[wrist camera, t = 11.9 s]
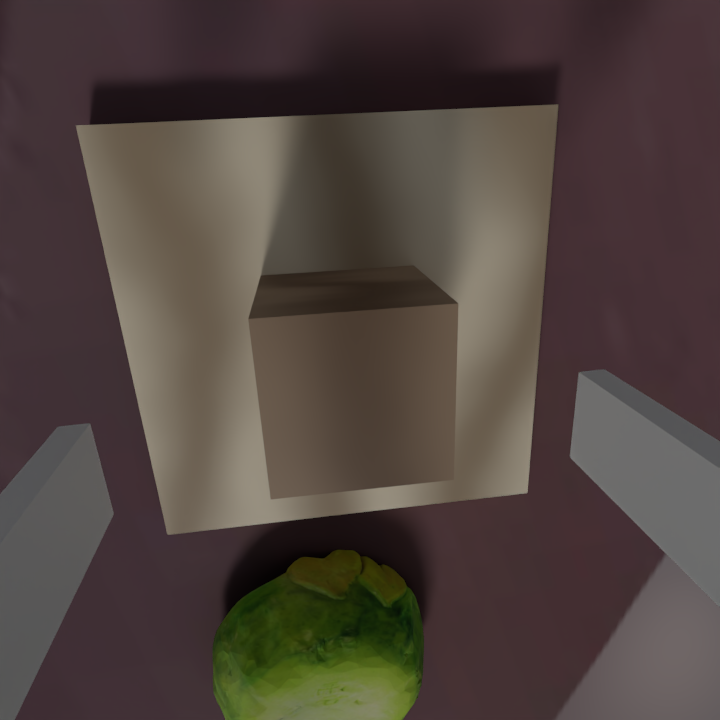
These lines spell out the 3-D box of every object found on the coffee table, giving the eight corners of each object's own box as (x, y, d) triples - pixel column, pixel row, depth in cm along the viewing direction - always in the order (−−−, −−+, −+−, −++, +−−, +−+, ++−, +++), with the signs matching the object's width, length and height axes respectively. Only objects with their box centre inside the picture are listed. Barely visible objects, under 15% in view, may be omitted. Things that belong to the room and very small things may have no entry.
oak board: (173, 518, 25) (167, 534, 24) (88, 127, 19) (75, 125, 18) (517, 478, 26) (527, 492, 25) (543, 107, 20) (558, 104, 19)
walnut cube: (276, 414, 22) (270, 499, 17) (260, 275, 20) (248, 318, 14) (414, 402, 23) (453, 479, 17) (413, 265, 21) (458, 303, 15)
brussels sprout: (215, 550, 26) (198, 635, 21) (427, 544, 27) (454, 623, 23) (222, 709, 30) (209, 809, 25) (406, 697, 32) (426, 789, 27)
